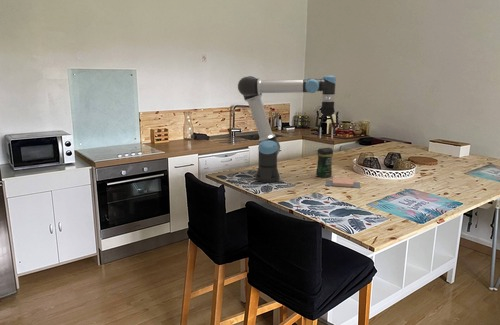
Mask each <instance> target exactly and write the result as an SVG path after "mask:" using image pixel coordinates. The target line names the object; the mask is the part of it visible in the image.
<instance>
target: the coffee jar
mask: <svg viewBox="0 0 500 325" xmlns="http://www.w3.org/2000/svg"><path fill="white" fill-rule="evenodd" d="M333 155H334V149H333V148H332V147H320V148H318V150H317V165H316V171H315V174H316V176H317V177H318V178H331V177H332V175H333V174H332V172H333V171H332V167H333V166H332V160H333Z"/></svg>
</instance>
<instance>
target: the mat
mask: <svg viewBox="0 0 500 325" xmlns="http://www.w3.org/2000/svg"><path fill="white" fill-rule="evenodd" d="M332 183H333V179H332V180H330V179H326V180H325V187H334V188H346V189H347V188H350V189H361V183H360V182H359V181H358V182H357V181H353V184H354V185H353V187H347V186H334V185H332Z"/></svg>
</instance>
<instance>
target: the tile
mask: <svg viewBox="0 0 500 325" xmlns="http://www.w3.org/2000/svg"><path fill="white" fill-rule="evenodd" d="M332 180H333V183H332V185H334V186H347V187H353V185H354V184H353V182H354V178H349V177H337V176H336V177H335V176H333V177H332ZM334 186H333V187H334ZM347 187H346V188H347Z"/></svg>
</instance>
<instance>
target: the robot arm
mask: <svg viewBox="0 0 500 325" xmlns="http://www.w3.org/2000/svg"><path fill="white" fill-rule="evenodd" d="M336 78H337V77H336V76H335V75H323V77H322V78H303V79H260V78H256V76H252V75H249V76H243V77H242V78H241V79H239V81H238V83H237V90H238V93H239V94H241V95H242V96H243V99H244V101H245V102H247V103H248V107H249V109H250V112H251V116H252V118H253V121H254V125H255V127H256V130H257V134H258V136H259V138H258V148H257V149H258V157H257V158H258V167H257V170H256V171H255V172H256V173H255V176H254V177H255V180H256V181H257V180H258V182H262V183H275V182H278V181H279V180H280V172H279V170H278V156H279V153H280V151H281V145H280V142H279V141H278V139H277V137H276V136H277V135H276V134H274V133H273V131H272V128H271V125H270V122H269V119H268V115H267V114H266V113H267V112H266V110H265V107H264V103H263V101H262V96H263V94H283V93H284V94H287V93H289V94H290V93H294V94H295V93H298V94H299V93H307V94H308V93H310V94H314V93H316V92H322V93H321V94H322V95H321V101H322V102H321V109H318V110H316V119H315V124H314V125H315V127H317V133H318V134H319V139H321V138H322V127H321V126H322V124H323V121H324V119H325V117H329V118H330V122H331V125H332V128H331V140H333V139H334V134H336V128H338V127H339V110H335V96H336V82H337V81H336ZM321 114H322V117H321V119H320V121H319V118H320V115H321ZM333 114H334V115H335V121H334V119H333V118H334V117H333Z"/></svg>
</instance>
